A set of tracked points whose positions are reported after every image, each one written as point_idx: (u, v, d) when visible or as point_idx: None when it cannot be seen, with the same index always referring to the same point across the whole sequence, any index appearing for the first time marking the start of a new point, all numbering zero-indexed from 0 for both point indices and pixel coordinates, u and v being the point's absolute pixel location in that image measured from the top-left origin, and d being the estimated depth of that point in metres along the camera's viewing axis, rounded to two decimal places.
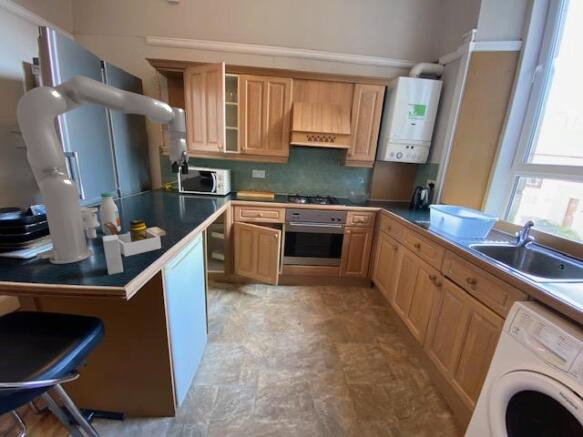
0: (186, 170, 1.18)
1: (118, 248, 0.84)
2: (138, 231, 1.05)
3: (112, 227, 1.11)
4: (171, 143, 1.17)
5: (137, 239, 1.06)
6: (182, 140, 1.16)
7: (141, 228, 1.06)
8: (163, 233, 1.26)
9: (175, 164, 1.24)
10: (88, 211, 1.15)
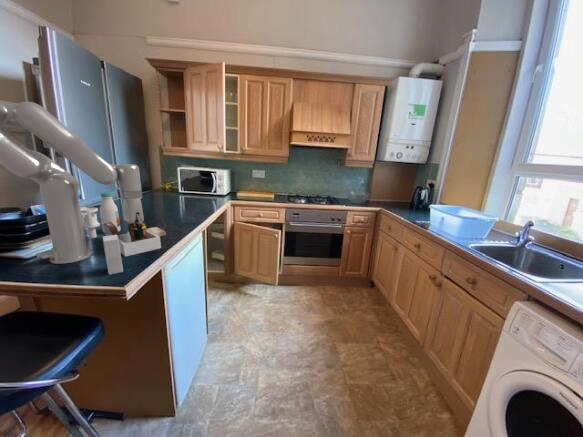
0: (140, 234, 1.05)
1: (118, 248, 0.84)
2: None
3: (112, 227, 1.11)
4: (124, 203, 1.03)
5: (137, 239, 1.06)
6: (135, 200, 1.01)
7: None
8: (163, 233, 1.26)
9: None
10: (88, 211, 1.15)
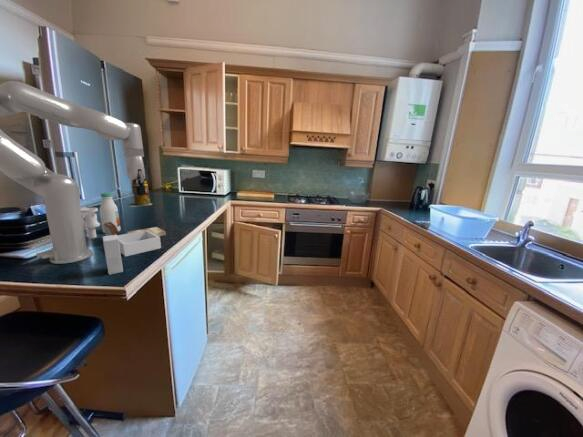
0: (142, 191, 1.12)
1: (118, 248, 0.84)
2: None
3: (112, 227, 1.11)
4: (127, 160, 1.10)
5: (140, 195, 1.13)
6: (137, 157, 1.08)
7: None
8: (163, 233, 1.26)
9: None
10: (88, 211, 1.15)
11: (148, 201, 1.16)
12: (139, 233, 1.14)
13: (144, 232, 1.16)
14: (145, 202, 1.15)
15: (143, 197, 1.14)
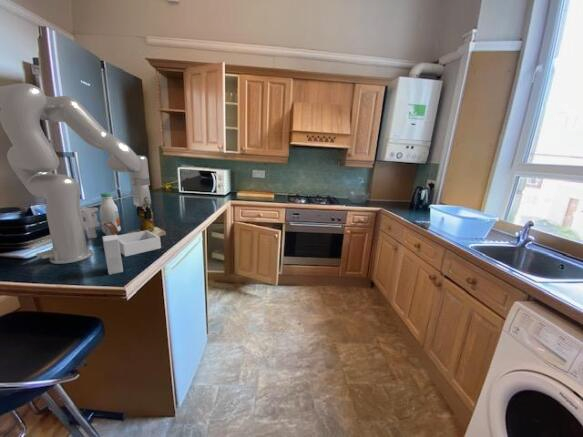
0: (149, 215, 1.20)
1: (118, 248, 0.84)
2: None
3: (112, 227, 1.11)
4: (134, 189, 1.19)
5: (145, 223, 1.22)
6: (144, 187, 1.17)
7: None
8: (163, 233, 1.26)
9: (140, 207, 1.26)
10: (88, 211, 1.15)
11: (153, 228, 1.25)
12: (139, 233, 1.14)
13: (144, 232, 1.16)
14: (150, 229, 1.24)
15: (148, 225, 1.23)
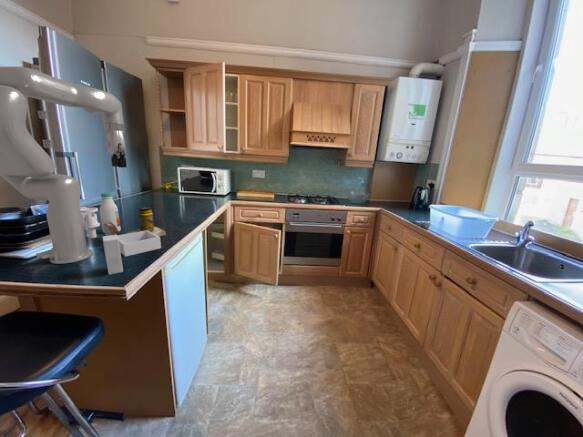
0: (123, 163, 1.14)
1: (118, 248, 0.84)
2: (146, 217, 1.22)
3: (112, 227, 1.11)
4: (107, 135, 1.13)
5: (145, 223, 1.22)
6: (118, 132, 1.12)
7: (149, 214, 1.22)
8: (163, 233, 1.26)
9: (115, 157, 1.20)
10: (88, 211, 1.15)
11: (153, 228, 1.25)
12: (139, 233, 1.14)
13: (144, 232, 1.16)
14: (150, 229, 1.24)
15: (148, 225, 1.23)
